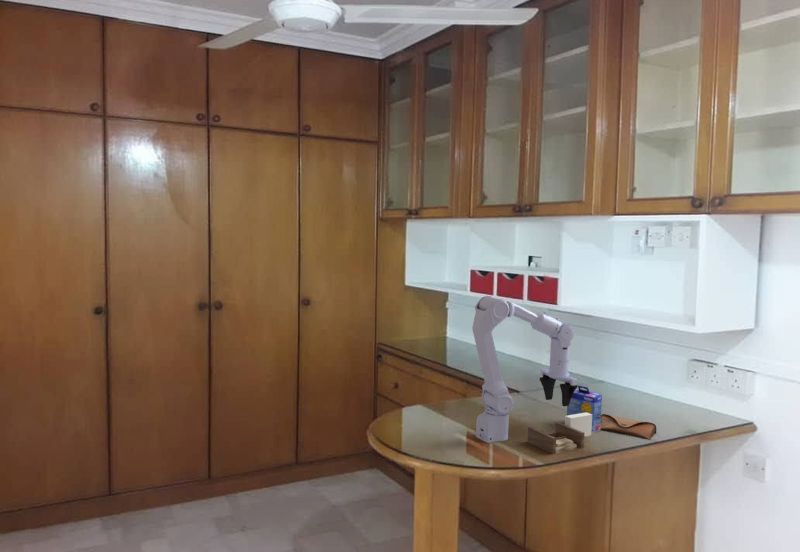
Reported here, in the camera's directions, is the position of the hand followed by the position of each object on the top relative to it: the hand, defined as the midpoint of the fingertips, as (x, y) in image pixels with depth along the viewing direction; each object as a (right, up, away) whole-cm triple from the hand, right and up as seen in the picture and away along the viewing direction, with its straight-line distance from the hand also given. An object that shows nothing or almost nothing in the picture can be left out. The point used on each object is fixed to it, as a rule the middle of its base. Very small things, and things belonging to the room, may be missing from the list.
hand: (557, 402), depth 201 cm
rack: (-3, -11, -11) cm, 16 cm away
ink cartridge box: (+10, -10, +7) cm, 16 cm away
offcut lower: (-2, -10, -14) cm, 18 cm away
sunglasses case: (+24, -11, +6) cm, 27 cm away
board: (+6, -10, -3) cm, 12 cm away
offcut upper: (-2, -9, -14) cm, 17 cm away
